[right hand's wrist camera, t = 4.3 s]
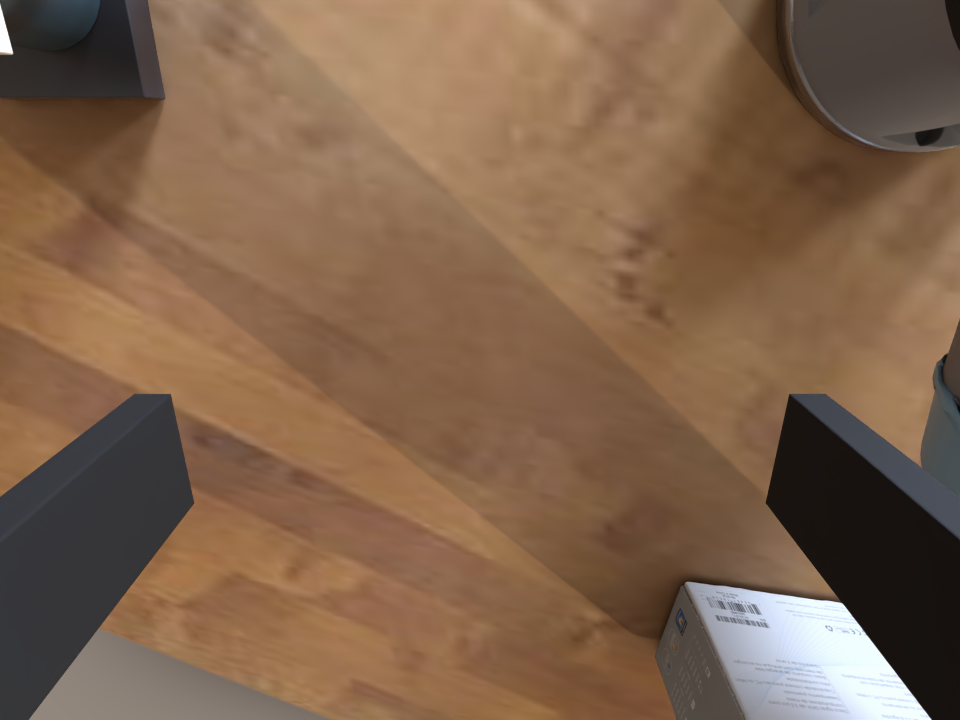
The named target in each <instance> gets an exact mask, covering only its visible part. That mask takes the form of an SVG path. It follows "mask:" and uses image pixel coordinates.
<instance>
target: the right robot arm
mask: <svg viewBox="0 0 960 720" xmlns="http://www.w3.org/2000/svg"><path fill="white" fill-rule="evenodd" d="M777 32H778V42H779V47H780V53H781V58H782V61H783V64H784V68H785V71H786V74H787V76H788V79H789V81H790V83H791V86H792V88H793V89H794V91H795V93H796V95H797V97H798V98H799V100H800V101H801V103H802V104H803V105H804V107H805V108H806V109H807V111H808V112H809V113H810V114H811V115H812V116H813V117H814V118H815V119H816V120H817V121H818V122H819V123H820V124H821V125H822V126H824V127H825V128H826V129H827V130H829V131H830V132H832V133H834V134H835V135H837V136H838V137H840V138H842V139H844V140H846V141H848V142H851V143H854V144H856V145H859V146H862V147H866V148H871V149H875V150H884V151H897V152H930V151H939V150H944V149H949V148H954V147H958V146H960V0H777ZM933 385H934V389H935V393H934V397H933V401H932V405H931V409H930V413H929V417H928V420H927V424H926V428H925V432H924V436H923V440H922V445H921V466H922V468H921V467H920V466H919V465H917V464H916V463H915V462H913V461H912V460H911V459H910V458H908V457H907V456H906V455H904V454H903V453H902V452H900V451H899V450H898V449H896V448H895V447H894V446H893V445H891V444H890V443H889V442H887V441H886V440H885V439H883V438H882V437H881V436H879V435H878V434H877V433H876V432H874V431H873V430H872V429H870V428H869V427H868V426H866V425H865V424H864V423H863V422H861V421H860V420H859V419H857V418H856V417H855V416H853V415H852V414H851V413H849V412H848V411H847V410H846V409H844V408H843V407H842V406H840V405H839V404H838V403H836V402H835V401H834V400H832V399H831V398H830V397H829V396H827V395H826V394H789V398H788V403H787V407H786V412H785V417H784V421H783V426H782V430H781V435H780V440H779V444H778V449H777V454H776V458H775V463H774V467H773V472H772V477H771V481H770V486H769V491H768V495H767V500H766V504H767V505H768V507H769V508H770V509H771V511H772V512H773V513H774V515H775V516H776V517H777V518H778V520H779V521H780V522H781V524H782V525H783V526H784V528H785V529H786V530H787V532H788V533H789V534H790V535H791V537H792V538H793V539H794V541H795V542H796V543H797V545H798V546H799V547H800V549H801V550H802V551H803V552H804V554H805V555H806V556H807V558H808V559H809V560H810V562H811V563H812V564H813V566H814V567H815V568H816V569H817V571H818V572H819V573H820V575H821V576H822V577H823V579H824V580H825V581H826V582H827V584H828V585H829V586H830V588H831V589H832V590H833V592H834V593H835V594H836V596H837V597H838V598H839V599H840V601H841V602H842V603H843V605H844V606H845V607H846V609H847V610H848V611H849V613H850V614H851V615H852V616H853V618H854V619H855V620H856V622H857V623H858V624H859V626H860V627H861V628H862V630H863V631H864V632H865V633H866V635H867V636H868V637H869V639H870V640H871V641H872V643H873V644H874V645H875V647H876V648H877V649H878V650H879V652H880V653H881V654H882V656H883V657H884V658H885V660H886V661H887V662H888V664H889V665H890V666H891V667H892V669H893V670H894V671H895V673H896V674H897V675H898V677H899V678H900V679H901V681H902V682H903V683H904V684H905V686H906V687H907V688H908V690H909V691H910V692H911V694H912V695H913V696H914V698H915V699H916V700H917V701H918V703H919V704H920V705H921V707H922V708H923V709H924V711H925V712H926V713H927V715H928V716H929V717H930V718H931V720H960V320H959V323H958V326H957V329H956V333H955V336H954V339H953V342H952V345H951V347H950V350H949V353H947V354H946V355H944V357H943V358H942V359H941V360H940V361H938V362H937V364H936V367H935V369H934V374H933ZM193 504H194V500H193V495H192V491H191V486H190V481H189V477H188V472H187V467H186V463H185V458H184V454H183V449H182V444H181V440H180V435H179V430H178V426H177V421H176V417H175V412H174V407H173V403H172V398H171V394H134V395H133V396H131V397H130V398H129V399H128V400H126V401H125V402H124V403H122V404H121V405H120V406H118V407H117V408H116V409H114V410H113V411H112V412H111V413H109V414H108V415H107V416H105V417H104V418H103V419H101V420H100V421H99V422H97V423H96V424H95V425H94V426H92V427H91V428H90V429H88V430H87V431H86V432H84V433H83V434H82V435H81V436H79V437H78V438H77V439H75V440H74V441H73V442H71V443H70V444H69V445H67V446H66V447H65V448H64V449H62V450H61V451H60V452H58V453H57V454H56V455H54V456H53V457H52V458H50V459H49V460H48V461H47V462H45V463H44V464H43V465H41V466H40V467H39V468H37V469H36V470H35V471H34V472H32V473H31V474H30V475H28V476H27V477H26V478H24V479H23V480H22V481H20V482H19V483H18V484H17V485H15V486H14V487H13V488H11V489H10V490H9V491H7V492H6V493H5V494H3V495H2V496H1V497H0V720H29V718H30V717H31V716H32V714H33V713H34V712H35V711H36V709H37V708H38V707H39V705H40V704H41V703H42V701H43V700H44V699H45V698H46V696H47V695H48V694H49V692H50V691H51V690H52V688H53V687H54V686H55V684H56V683H57V682H58V680H59V679H60V678H61V677H62V675H63V674H64V673H65V671H66V670H67V669H68V667H69V666H70V665H71V664H72V662H73V661H74V660H75V658H76V657H77V656H78V654H79V653H80V652H81V650H82V649H83V648H84V647H85V645H86V644H87V643H88V641H89V640H90V639H91V637H92V636H93V635H94V633H95V632H96V631H97V629H98V628H99V627H100V626H101V624H102V623H103V622H104V620H105V619H106V618H107V616H108V615H109V614H110V613H111V611H112V610H113V609H114V607H115V606H116V605H117V603H118V602H119V601H120V599H121V598H122V597H123V596H124V594H125V593H126V592H127V590H128V589H129V588H130V586H131V585H132V584H133V582H134V581H135V580H136V579H137V577H138V576H139V575H140V573H141V572H142V571H143V569H144V568H145V567H146V566H147V564H148V563H149V562H150V560H151V559H152V558H153V556H154V555H155V554H156V552H157V551H158V550H159V549H160V547H161V546H162V545H163V543H164V542H165V541H166V539H167V538H168V537H169V535H170V534H171V533H172V532H173V530H174V529H175V528H176V526H177V525H178V524H179V522H180V521H181V520H182V518H183V517H184V516H185V515H186V513H187V512H188V511H189V509H190V508H191V507H192V505H193Z"/></svg>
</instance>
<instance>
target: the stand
mask: <svg viewBox="0 0 960 720" xmlns="http://www.w3.org/2000/svg"><path fill="white" fill-rule="evenodd" d="M0 5H1V9H2V13H3V17H4V21H5V24H6V28H7V32H8V36H9V40H10V43H11V47H12V51H13V54H12V55H0V99H9V100H164V99H165V95H164V90H163V84H162V79H161V73H160V68H159V62H158V57H157V51H156V46H155V41H154V35H153V30H152V24H151V19H150V13H149V8H148V2H147V0H0Z"/></svg>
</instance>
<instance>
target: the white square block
mask: <svg viewBox="0 0 960 720" xmlns="http://www.w3.org/2000/svg"><path fill="white" fill-rule="evenodd" d="M12 54H13V51H12V47H11V43H10V40H9V36H8V32H7V28H6V24H5V21H4V17H3V13H2V9H1V5H0V55H12Z"/></svg>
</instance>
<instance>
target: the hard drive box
mask: <svg viewBox="0 0 960 720" xmlns="http://www.w3.org/2000/svg"><path fill="white" fill-rule="evenodd" d="M655 658H656V661H657V664H658V666H659V669H660V672H661V675H662V678H663V680H664V683H665V686H666V689H667V692H668V695H669V698H670V701H671V703H672V706H673V709H674V712H675V715H676V718H677V720H931V718H930V717H929V716H928V715H927V713H926V712H925V711H924V709H923V708H922V707H921V705H920V704H919V703H918V701H917V700H916V699H915V698H914V696H913V695H912V694H911V692H910V691H909V690H908V688H907V687H906V686H905V684H904V683H903V682H902V681H901V679H900V678H899V677H898V675H897V674H896V673H895V671H894V670H893V669H892V667H891V666H890V665H889V664H888V662H887V661H886V660H885V658H884V657H883V656H882V654H881V653H880V652H879V650H878V649H877V648H876V647H875V645H874V644H873V643H872V641H871V640H870V639H869V637H868V636H867V635H866V633H865V632H864V631H863V630H862V628H861V627H860V626H859V624H858V623H857V622H856V620H855V619H854V618H853V616H852V615H851V614H850V613H849V611H848V610H847V609H846V607H845V606H844V605H843V603H838V602H833V601H821V600H814V599H807V598H800V597H793V596H786V595H778V594H772V593H765V592H759V591H751V590H746V589H743V588H733V587H728V586H715V585H708V584H700V583H695V582H686V583H685V585H684V586H681V587H680V590H679V593H678V595H677V598H676V600H675V603H674V606H673V608H672V611H671V614H670V616H669V619H668V622H667V624H666V627H665V630H664V633H663V635H662V638H661V640H660V643H659V646H658V648H657V651H656V654H655Z"/></svg>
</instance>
